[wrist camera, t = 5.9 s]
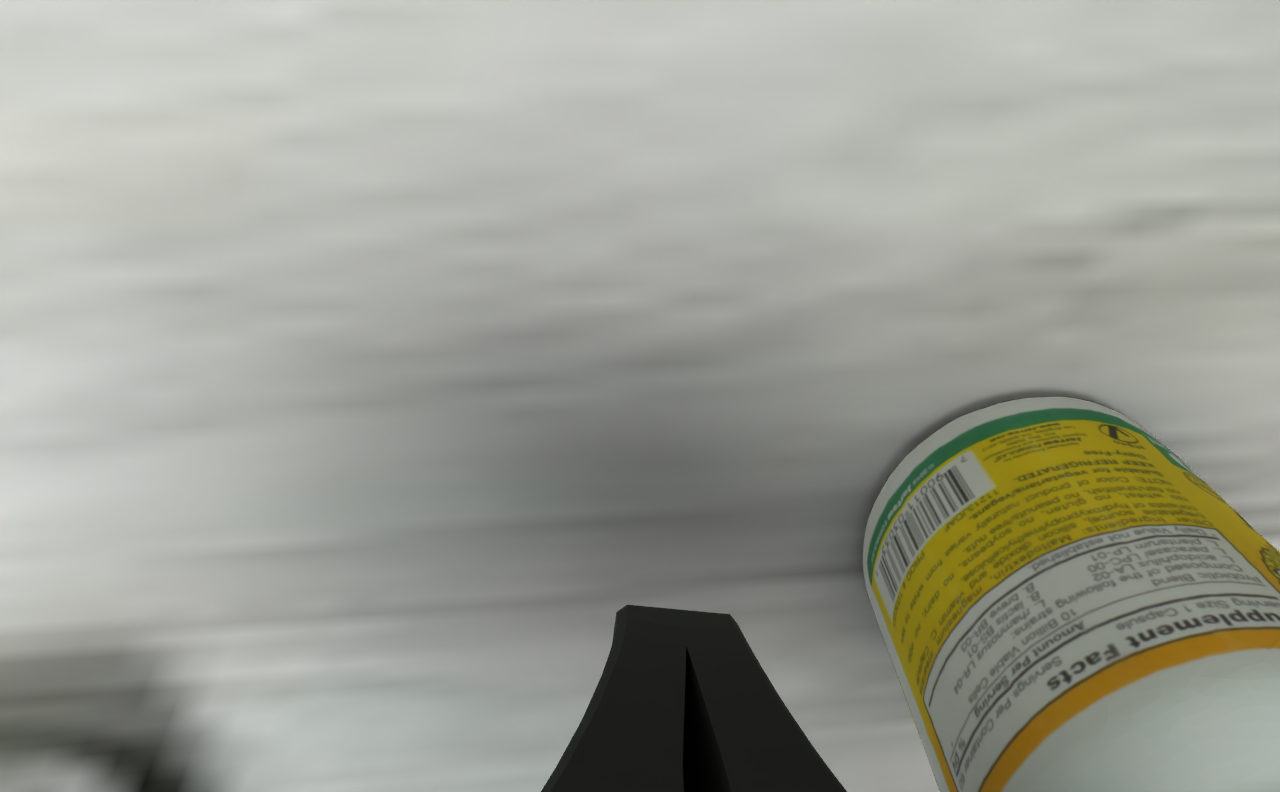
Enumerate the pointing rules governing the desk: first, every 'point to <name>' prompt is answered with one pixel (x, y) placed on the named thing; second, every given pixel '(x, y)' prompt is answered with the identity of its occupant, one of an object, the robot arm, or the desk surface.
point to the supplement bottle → (1075, 609)
